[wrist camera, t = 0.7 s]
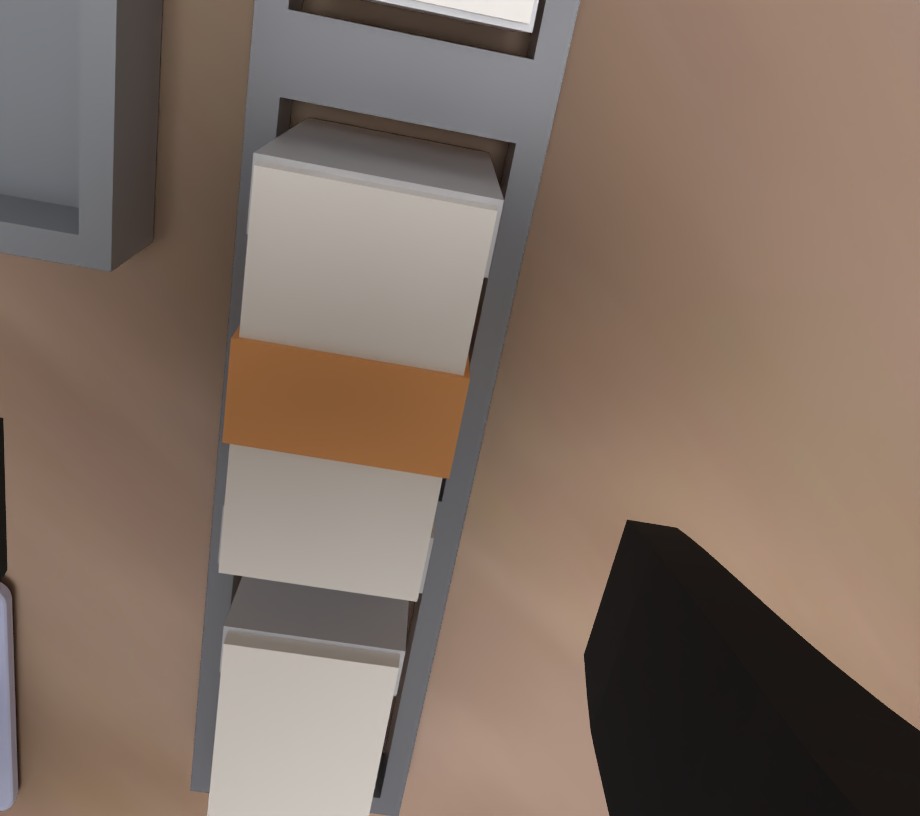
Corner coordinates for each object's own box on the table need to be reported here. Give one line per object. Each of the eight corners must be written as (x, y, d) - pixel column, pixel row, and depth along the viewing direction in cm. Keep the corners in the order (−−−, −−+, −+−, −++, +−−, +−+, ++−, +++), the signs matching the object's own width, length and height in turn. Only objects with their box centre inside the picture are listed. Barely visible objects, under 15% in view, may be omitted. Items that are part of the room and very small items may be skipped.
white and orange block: (276, 428, 20) (211, 579, 15) (311, 115, 17) (245, 157, 12) (428, 452, 21) (421, 610, 15) (487, 149, 18) (506, 207, 12)
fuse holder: (204, 747, 24) (190, 790, 23) (324, -605, 13) (310, -678, 12) (401, 773, 25) (398, 816, 23) (680, -509, 14) (707, -569, 12)
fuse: (243, 722, 24) (196, 884, 20) (267, 507, 21) (219, 639, 17) (372, 739, 24) (355, 903, 20) (413, 530, 22) (404, 664, 17)
